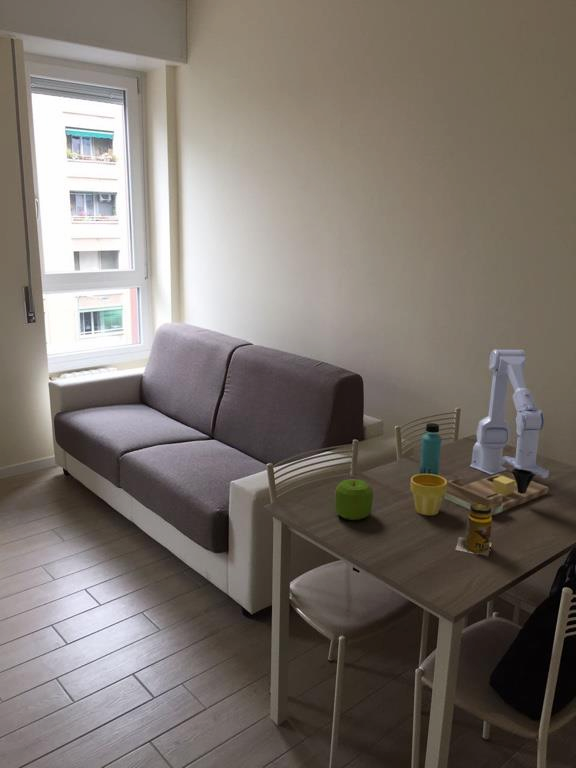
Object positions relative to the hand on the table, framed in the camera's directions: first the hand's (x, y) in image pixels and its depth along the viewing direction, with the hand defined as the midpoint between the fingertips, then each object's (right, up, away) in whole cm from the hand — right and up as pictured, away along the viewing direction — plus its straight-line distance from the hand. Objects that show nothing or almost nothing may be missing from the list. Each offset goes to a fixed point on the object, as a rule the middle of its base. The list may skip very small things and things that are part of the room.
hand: (521, 492), depth 195 cm
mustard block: (-4, -1, +5) cm, 7 cm away
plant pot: (-29, -5, -3) cm, 30 cm away
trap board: (-5, -2, +7) cm, 9 cm away
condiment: (-21, -11, -24) cm, 34 cm away
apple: (-51, -6, -7) cm, 52 cm away
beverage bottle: (-24, 0, +17) cm, 30 cm away
